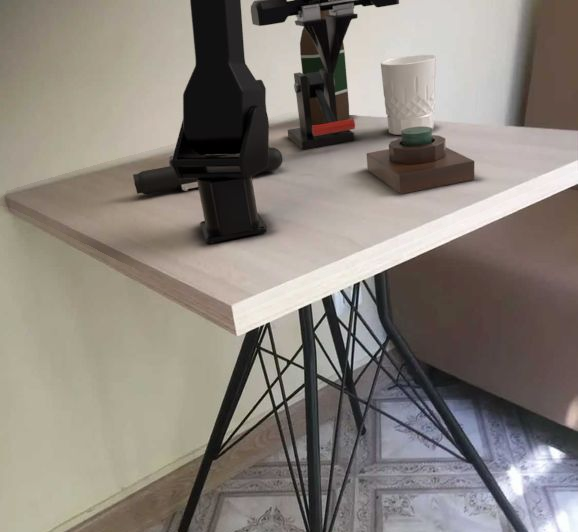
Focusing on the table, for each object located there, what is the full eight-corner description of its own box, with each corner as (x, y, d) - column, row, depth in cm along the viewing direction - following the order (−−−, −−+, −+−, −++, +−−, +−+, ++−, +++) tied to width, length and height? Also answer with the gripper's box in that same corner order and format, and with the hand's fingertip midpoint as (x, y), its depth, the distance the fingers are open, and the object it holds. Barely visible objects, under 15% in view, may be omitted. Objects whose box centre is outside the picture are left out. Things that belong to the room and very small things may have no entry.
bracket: (354, 140, 104) (348, 71, 100) (302, 149, 103) (294, 80, 99) (335, 128, 113) (330, 64, 108) (288, 137, 112) (280, 73, 107)
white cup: (425, 136, 101) (423, 63, 96) (376, 136, 105) (371, 65, 100) (445, 123, 106) (443, 53, 101) (397, 123, 110) (394, 56, 105)
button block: (474, 179, 80) (474, 144, 78) (400, 194, 79) (398, 159, 77) (433, 157, 90) (432, 126, 88) (367, 170, 89) (365, 138, 87)
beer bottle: (357, 113, 121) (345, -43, 110) (342, 124, 115) (327, -41, 104) (316, 115, 125) (300, -37, 113) (299, 125, 119) (280, -34, 107)
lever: (354, 133, 100) (355, 120, 98) (314, 141, 99) (314, 127, 97) (330, 82, 106) (331, 69, 104) (292, 89, 106) (292, 75, 104)
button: (437, 145, 81) (436, 130, 81) (408, 150, 81) (407, 135, 80) (425, 139, 85) (424, 124, 84) (397, 144, 84) (396, 130, 83)
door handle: (129, 158, 102) (132, 176, 88) (260, 133, 105) (285, 148, 91) (134, 180, 104) (138, 202, 89) (264, 156, 107) (288, 173, 92)
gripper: (368, -65, 96) (376, 57, 103) (236, -45, 93) (253, 78, 101) (397, -71, 86) (403, 64, 93) (250, -49, 83) (268, 87, 91)
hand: (330, 73), depth 95 cm, fingers closed
